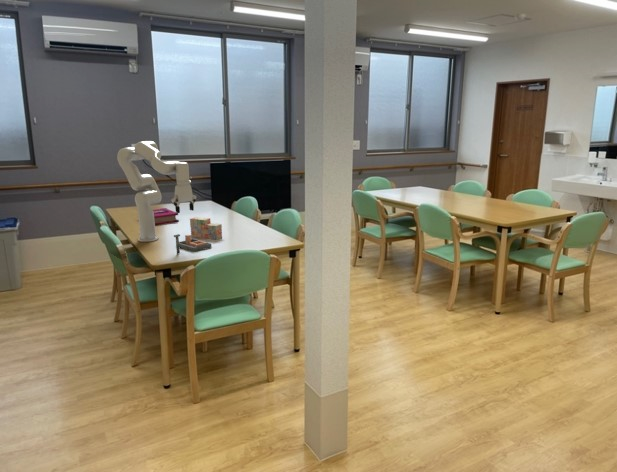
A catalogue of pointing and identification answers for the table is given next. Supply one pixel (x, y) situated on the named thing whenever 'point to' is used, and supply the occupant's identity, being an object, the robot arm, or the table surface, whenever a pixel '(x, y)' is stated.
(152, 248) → the table surface
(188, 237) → the orange scoop
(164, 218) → the book
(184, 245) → the tray
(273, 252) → the table surface
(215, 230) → the stack of blocks
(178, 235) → the stake
